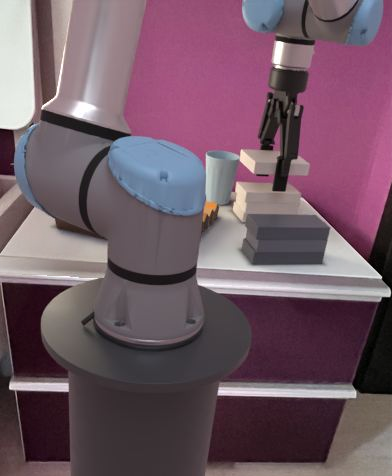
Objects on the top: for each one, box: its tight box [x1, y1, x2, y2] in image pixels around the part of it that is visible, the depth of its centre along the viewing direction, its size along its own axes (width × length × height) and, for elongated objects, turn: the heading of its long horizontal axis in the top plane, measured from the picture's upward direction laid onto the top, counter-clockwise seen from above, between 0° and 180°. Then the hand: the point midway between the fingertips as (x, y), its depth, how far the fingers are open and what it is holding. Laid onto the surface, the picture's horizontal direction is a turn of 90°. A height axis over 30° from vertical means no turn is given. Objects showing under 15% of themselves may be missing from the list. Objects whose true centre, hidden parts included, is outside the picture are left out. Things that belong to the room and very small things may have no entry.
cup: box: [205, 150, 241, 206], centre depth 127 cm, size 8×8×10 cm
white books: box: [232, 181, 302, 223], centre depth 122 cm, size 13×7×7 cm, turn 104°
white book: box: [239, 148, 311, 177], centre depth 118 cm, size 12×10×2 cm
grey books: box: [241, 214, 331, 265], centre depth 104 cm, size 14×6×7 cm, turn 104°
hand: (270, 183), depth 120 cm, fingers closed on white book, 9 cm apart
